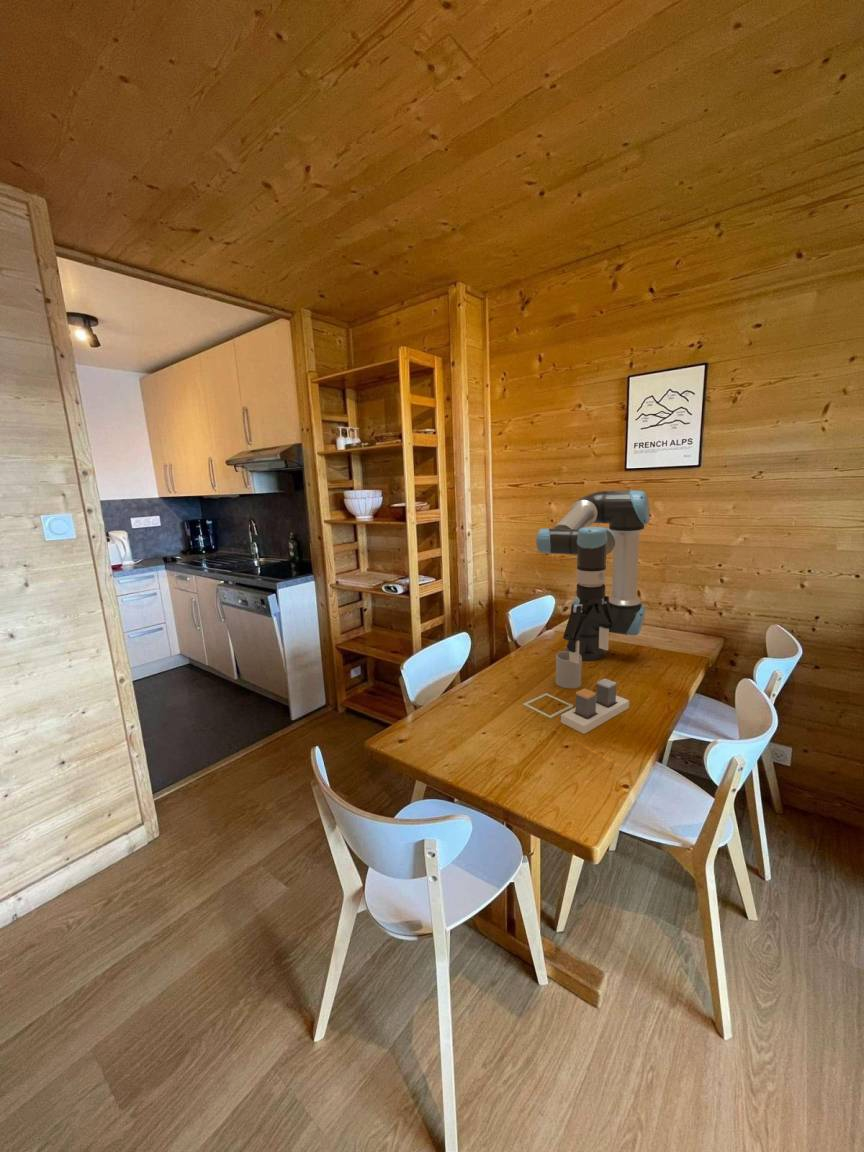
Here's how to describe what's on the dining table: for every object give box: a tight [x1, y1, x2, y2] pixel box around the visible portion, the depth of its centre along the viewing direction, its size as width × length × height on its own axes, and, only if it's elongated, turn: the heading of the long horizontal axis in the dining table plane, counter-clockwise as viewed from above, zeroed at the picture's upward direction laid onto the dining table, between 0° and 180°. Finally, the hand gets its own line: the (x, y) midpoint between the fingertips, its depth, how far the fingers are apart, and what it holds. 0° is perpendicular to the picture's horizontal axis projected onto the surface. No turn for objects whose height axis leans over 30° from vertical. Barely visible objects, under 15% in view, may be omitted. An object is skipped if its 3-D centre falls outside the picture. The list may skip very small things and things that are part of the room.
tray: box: [522, 692, 574, 719], centre depth 145 cm, size 11×11×1 cm
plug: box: [575, 687, 596, 720], centre depth 134 cm, size 4×4×9 cm
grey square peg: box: [595, 677, 617, 708], centre depth 139 cm, size 4×4×9 cm
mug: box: [555, 650, 583, 690], centre depth 159 cm, size 12×8×11 cm
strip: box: [560, 694, 630, 735], centre depth 137 cm, size 8×22×4 cm, turn 126°
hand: (589, 655), depth 131 cm, fingers open, 13 cm apart
